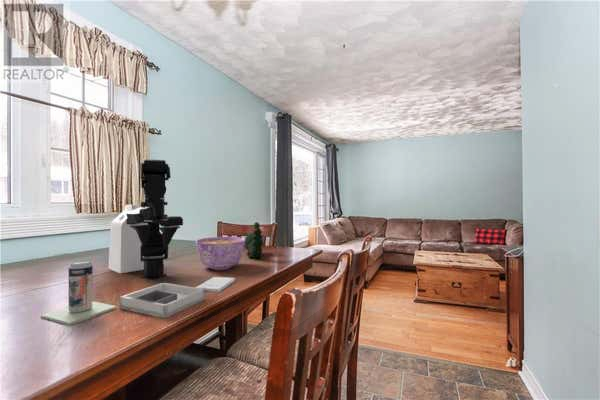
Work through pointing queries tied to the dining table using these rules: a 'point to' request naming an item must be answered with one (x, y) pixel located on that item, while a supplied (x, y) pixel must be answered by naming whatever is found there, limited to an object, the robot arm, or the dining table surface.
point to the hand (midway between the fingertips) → (154, 247)
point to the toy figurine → (254, 243)
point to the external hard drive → (216, 284)
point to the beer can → (80, 286)
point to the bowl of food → (220, 251)
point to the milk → (124, 245)
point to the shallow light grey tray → (162, 299)
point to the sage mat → (72, 318)
